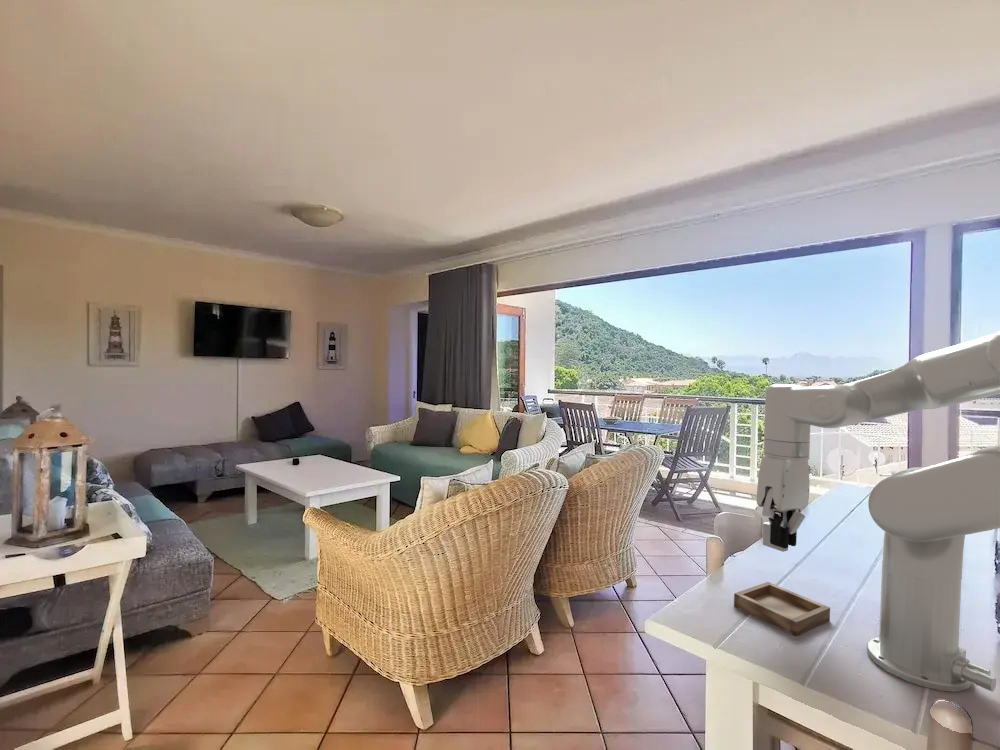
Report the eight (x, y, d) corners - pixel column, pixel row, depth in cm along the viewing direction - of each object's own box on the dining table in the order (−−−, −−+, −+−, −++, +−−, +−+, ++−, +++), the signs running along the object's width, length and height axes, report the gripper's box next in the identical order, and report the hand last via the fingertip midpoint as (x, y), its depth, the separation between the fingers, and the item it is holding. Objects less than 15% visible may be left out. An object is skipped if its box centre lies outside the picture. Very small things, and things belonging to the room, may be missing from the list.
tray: (829, 620, 91) (830, 607, 91) (795, 636, 86) (796, 622, 86) (767, 593, 101) (767, 581, 101) (733, 605, 96) (734, 593, 96)
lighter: (762, 544, 96) (763, 504, 96) (767, 543, 97) (768, 503, 96) (799, 557, 90) (800, 514, 89) (804, 555, 91) (805, 513, 90)
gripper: (790, 443, 100) (787, 532, 100) (741, 448, 92) (738, 545, 93) (829, 449, 93) (826, 544, 94) (781, 455, 85) (777, 559, 86)
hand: (783, 544), depth 93 cm, fingers closed on lighter, 1 cm apart
